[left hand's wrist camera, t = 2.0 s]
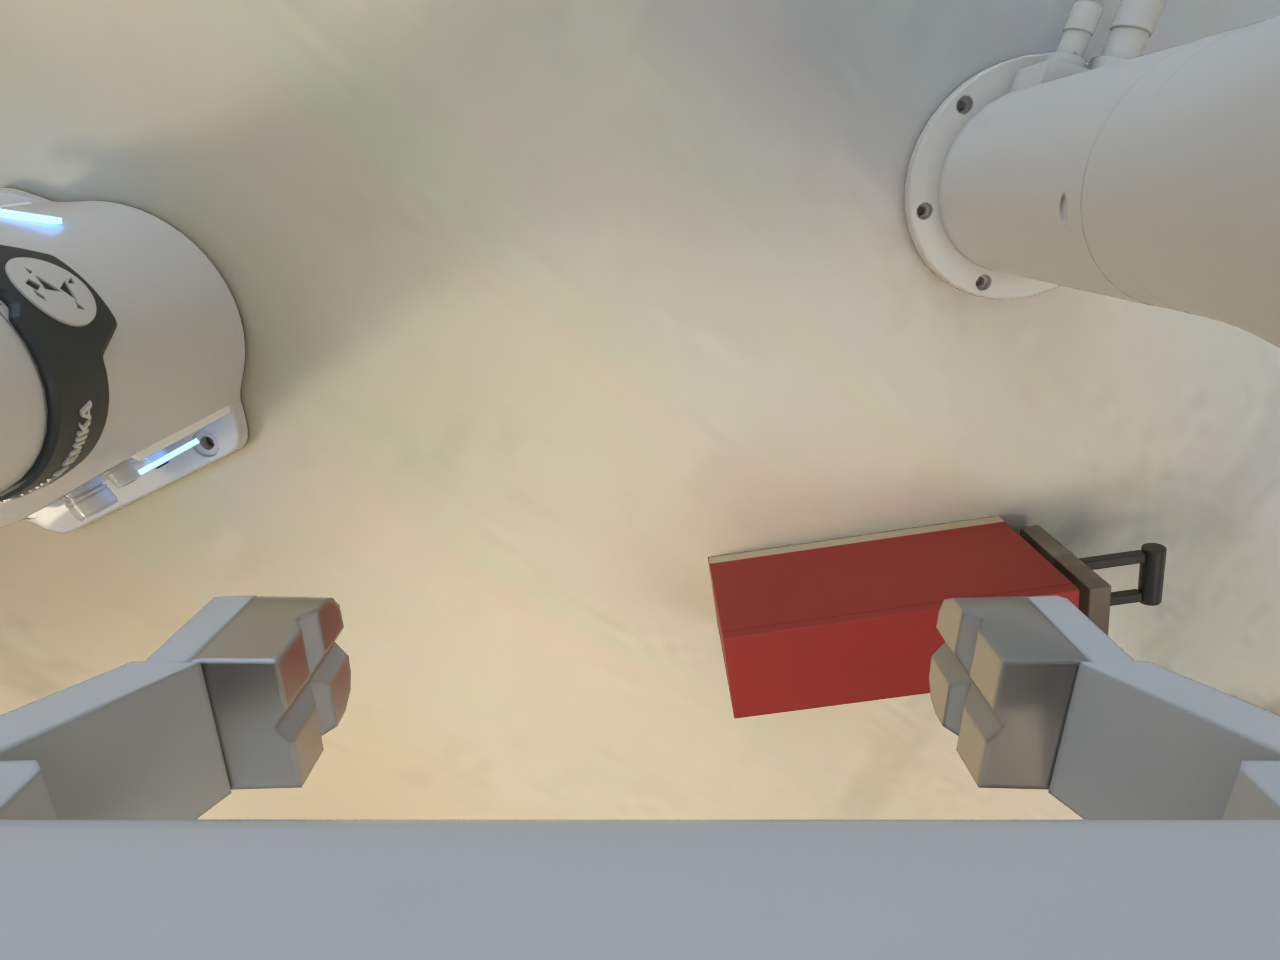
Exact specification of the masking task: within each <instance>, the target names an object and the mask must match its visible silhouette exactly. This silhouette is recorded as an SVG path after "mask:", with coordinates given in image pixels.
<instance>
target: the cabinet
mask: <svg viewBox="0 0 1280 960" xmlns="http://www.w3.org/2000/svg"><path fill="white" fill-rule="evenodd" d="M708 561H709V568H710V575H711V582H712V588H713V595H714V602H715V609H716V616H717V623H718V629H719V634H720V640H721V645H722V651H723V657H724V662H725V668H726V674H727V679H728V685H729V690H730V696H731V702H732V707H733V713H734V717H735V718H741V717H749V716H757V715H764V714H772V713H780V712H787V711H795V710H802V709H810V708H818V707H825V706H833V705H841V704H848V703H856V702H863V701H871V700H879V699H886V698H894V697H902V696H909V695H917V694H925V693H930V683H929V674H930V665H931V657H932V655H933V654H934V653H935V652H936V651H937V650H938V649H939V648H940V647H941V646H942V645H943V644H944V643H945V640H944V638H943V637H942V635H941V634H940V632H939V631H938V629H937V628H936V626H937V620H938V614H939V610H940V608H941V606H942V603H943V601H944V600H945V599H951V598H980V597H1021V596H1026V597H1034V596H1060V597H1064V598H1067V599H1068V600H1069V601H1070V602H1071V603H1072V604H1074V605H1075V606H1076V607H1077V608H1078V609H1079V589H1078V588H1077V587H1076V586H1075V585H1074V584H1073V583H1072V582H1071V581H1069V580H1068V579H1067V578H1066V577H1065V576H1064V575H1063V574H1062V573H1061V572H1060V571H1058V570H1057V569H1056V568H1055V567H1054V566H1053V565H1052V564H1051V563H1050V562H1048V561H1047V560H1046V559H1045V558H1044V557H1043V556H1042V555H1041V554H1040V553H1039V552H1037V551H1036V550H1035V549H1034V548H1033V547H1032V546H1031V545H1030V544H1029V543H1027V542H1026V541H1025V540H1024V539H1023V538H1022V537H1021V536H1020V535H1019V534H1018V533H1016V532H1015V531H1014V530H1013V529H1012V528H1011V527H1010V526H1009V525H1008V524H1006V523H1005V521H1004V520H1003V519H1002V518H1001V517H999V516H994V517H987V518H980V519H973V520H966V521H959V522H952V523H945V524H938V525H931V526H924V527H917V528H910V529H903V530H896V531H890V532H883V533H876V534H869V535H862V536H855V537H848V538H841V539H834V540H827V541H820V542H813V543H806V544H799V545H792V546H785V547H778V548H771V549H765V550H758V551H751V552H744V553H737V554H730V555H723V556H716V557H709V558H708Z"/></svg>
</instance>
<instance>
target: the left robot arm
mask: <svg viewBox="0 0 1280 960" xmlns="http://www.w3.org/2000/svg"><path fill="white" fill-rule="evenodd" d="M244 365H245V338H244V331H243V326H242V321H241V318H240V314H239V311H238V308H237V306H236V303H235V301H234V298H233V296H232V294H231V292H230V290H229V288H228V286H227V285H226V283H225V281H224V279H223V278H222V276H221V275H220V273H219V272H218V270H217V269H216V268H215V266H214V265H213V264H212V262H211V261H210V260H209V259H208V258H207V256H206V255H205V254H204V253H203V252H202V251H201V250H200V249H199V248H198V247H197V246H196V245H195V244H194V243H193V242H192V241H191V240H189V239H188V238H187V237H186V236H185V235H183V234H182V233H181V232H179V231H178V230H177V229H175V228H174V227H172V226H171V225H169V224H168V223H166V222H164V221H163V220H161V219H159V218H157V217H155V216H153V215H151V214H149V213H147V212H144V211H142V210H139V209H136V208H133V207H130V206H127V205H123V204H118V203H113V202H106V201H75V202H56V201H50V200H47V199H45V198H42V197H39V196H37V195H34V194H31V193H28V192H25V191H22V190H18V189H13V188H0V526H10V525H12V524H14V523H16V522H18V521H20V520H22V519H24V520H26V521H28V522H30V523H32V524H35V525H37V526H39V527H42V528H45V529H48V530H51V531H54V532H58V533H69V532H72V531H74V530H76V529H79V528H81V527H84V526H86V525H88V524H90V523H92V522H94V521H96V520H98V519H100V518H102V517H104V516H106V515H108V514H110V513H112V512H114V511H116V510H118V509H120V508H122V507H124V506H126V505H128V504H130V503H132V502H134V501H136V500H138V499H140V498H142V497H144V496H146V495H148V494H150V493H152V492H154V491H157V490H159V489H161V488H163V487H165V486H167V485H169V484H171V483H173V482H175V481H177V480H179V479H181V478H183V477H185V476H187V475H189V474H191V473H193V472H195V471H197V470H199V469H201V468H203V467H205V466H207V465H209V464H211V463H213V462H215V461H217V460H219V459H221V458H223V457H225V456H227V455H229V454H231V453H233V452H235V451H237V450H239V449H241V448H242V447H243V446H244V445H245V444H246V442H247V439H248V427H247V422H246V417H245V414H244V410H243V406H242V402H241V399H240V391H241V383H242V377H243V371H244ZM206 437H209V438H211V439H212V440H213V442H214V446H211V445H210V444H209V443H208V442H207V440H206ZM343 628H344V626H343V621H342V616H341V611H340V606H339V604H338V603H337V602H336V601H335V600H334V599H333V598H316V597H262V596H261V597H257V596H224V597H216V598H213V599H212V600H211V601H210V602H209V603H208V604H207V605H206V606H204V607H203V608H202V609H201V610H200V611H199V612H198V613H197V614H196V615H195V616H194V617H193V618H191V619H190V620H189V621H188V622H187V623H186V624H185V625H184V626H183V627H182V628H181V629H179V630H178V631H177V632H176V633H175V634H174V635H173V636H172V637H171V638H170V639H169V640H168V641H166V642H165V643H164V644H163V645H162V646H161V647H160V648H159V649H158V650H157V651H156V652H154V653H153V654H152V655H151V656H150V657H149V658H148V659H147V660H146V661H145V662H130V663H128V664H125V665H123V666H120V667H118V668H115V669H113V670H111V671H108V672H106V673H103V674H101V675H98V676H96V677H93V678H91V679H89V680H86V681H84V682H81V683H79V684H76V685H74V686H71V687H69V688H67V689H64V690H62V691H59V692H57V693H54V694H52V695H49V696H47V697H45V698H42V699H40V700H37V701H35V702H32V703H30V704H27V705H25V706H23V707H20V708H18V709H15V710H13V711H10V712H8V713H5V714H3V715H1V716H0V960H1280V716H1279V715H1277V714H1274V713H1272V712H1269V711H1267V710H1265V709H1262V708H1260V707H1257V706H1255V705H1252V704H1250V703H1247V702H1245V701H1243V700H1240V699H1238V698H1235V697H1233V696H1230V695H1228V694H1226V693H1223V692H1221V691H1218V690H1216V689H1213V688H1211V687H1208V686H1206V685H1204V684H1201V683H1199V682H1196V681H1194V680H1191V679H1189V678H1186V677H1184V676H1182V675H1179V674H1177V673H1174V672H1172V671H1169V670H1167V669H1165V668H1162V667H1160V666H1157V665H1155V664H1152V663H1150V662H1135V661H1134V660H1133V659H1132V658H1131V657H1130V656H1129V655H1128V654H1127V653H1126V652H1125V651H1123V650H1122V649H1121V648H1120V647H1119V646H1118V645H1117V644H1116V643H1115V642H1114V641H1113V640H1112V639H1110V638H1109V637H1108V636H1107V635H1106V634H1105V633H1104V632H1103V631H1102V630H1101V629H1100V628H1099V627H1097V626H1096V625H1095V624H1094V623H1093V622H1092V621H1091V620H1090V619H1089V618H1088V617H1087V616H1086V615H1084V614H1083V613H1082V612H1081V611H1080V610H1079V609H1078V608H1077V607H1076V606H1075V605H1074V604H1072V603H1071V602H1070V601H1069V600H1068V599H1067V598H1064V597H1060V596H1034V597H1026V596H1021V597H980V598H951V599H945V600H944V601H943V603H942V606H941V608H940V610H939V614H938V620H937V626H936V628H937V629H938V631H939V632H940V634H941V635H942V637H943V638H944V640H945V643H944V644H943V645H942V646H941V647H940V648H939V649H938V650H937V651H936V652H935V653H934V654H933V655H932V657H931V665H930V674H929V683H930V693H931V700H932V703H933V706H934V709H935V712H936V714H937V716H938V718H939V720H940V722H941V724H942V725H943V726H944V727H945V728H947V729H948V730H950V731H952V732H953V733H955V734H956V735H958V736H959V738H958V744H957V751H958V753H959V755H960V757H961V758H962V760H963V762H964V763H965V765H966V767H967V768H968V770H969V772H970V774H971V775H972V777H973V779H974V780H975V782H976V784H977V786H978V787H981V788H1018V789H1049V791H1048V792H1049V793H1050V794H1051V795H1052V796H1054V797H1055V798H1056V799H1058V800H1059V801H1060V802H1062V803H1063V804H1064V805H1066V806H1067V807H1068V808H1070V809H1071V810H1072V811H1074V812H1075V813H1076V814H1078V815H1079V816H1080V817H1082V818H1083V819H1084V820H196V819H197V818H198V817H200V816H201V815H202V814H204V813H205V812H206V811H208V810H209V809H210V808H212V807H213V806H214V805H216V804H217V803H218V802H220V801H221V800H222V799H224V798H225V797H226V796H228V795H229V794H230V793H231V789H261V788H296V787H302V786H303V784H304V782H305V781H306V779H307V777H308V775H309V774H310V772H311V770H312V769H313V767H314V765H315V763H316V762H317V760H318V758H319V757H320V755H321V753H322V751H323V744H322V738H321V736H322V735H324V734H325V733H327V732H328V731H330V730H332V729H333V728H335V727H336V726H337V725H338V723H339V722H340V720H341V718H342V716H343V714H344V712H345V710H346V706H347V702H348V698H349V694H350V684H351V671H350V664H349V657H348V655H347V654H346V653H345V652H344V651H343V650H342V649H341V648H340V647H339V646H338V645H337V644H336V643H335V640H336V639H337V637H338V635H339V634H340V632H341V631H342V629H343Z"/></svg>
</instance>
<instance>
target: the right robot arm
mask: <svg viewBox="0 0 1280 960" xmlns="http://www.w3.org/2000/svg"><path fill="white" fill-rule="evenodd" d="M1165 3H1166V0H1122V1H1121V3H1120V6H1119V8H1118V10H1117V13H1116V15H1115V17H1114V20H1113V22H1112V24H1111V27H1110V31H1111V32H1110V34H1109V36H1108V39H1107V41H1106V43H1105V46H1104V48H1103V50H1102V53H1101V55H1100V56H1097V57H1093V58H1091V60H1090V62H1089V63H1087V62H1086V59H1085V58H1083V57H1082V55H1083V53H1084V51H1085V48H1086V46H1087V43H1088V41H1089V39H1090V37H1091V36H1092V35H1093V33H1094V30H1095V28H1096V26H1097V23H1098V21H1099V18H1100V16H1101V14H1102V11H1103V9H1104V6H1103V5H1102V4H1100V3H1098V2H1095V1H1091V0H1079V1H1076V2H1075V3H1074V5H1073V8H1072V10H1071V13H1070V15H1069V18H1068V20H1067V23H1066V25H1065V27H1064V30H1063V32H1064V33H1063V36H1062V38H1061V41H1060V43H1059V46H1058V48H1057V51H1056V52H1052V53H1047V54H1035V55H1025V56H1021V57H1018V58H1014V59H1011V60H1007V61H1004V62H1001V63H999V64H997V65H994V66H992V67H990V68H987V69H985V70H983V71H982V72H980V73H978V74H977V75H975V76H974V77H972V78H970V79H969V80H967V81H966V82H964V83H963V84H962V85H961V86H959V87H958V88H957V89H956V90H955V91H954V92H953V93H952V94H951V95H949V96H948V97H947V98H946V99H945V100H944V101H943V103H942V104H941V105H940V106H939V108H938V109H937V110H936V111H935V113H934V114H933V115H932V116H931V118H930V119H929V121H928V122H927V124H926V126H925V128H924V130H923V131H922V133H921V135H920V137H919V138H918V140H917V143H916V145H915V148H914V151H913V154H912V156H911V159H910V162H909V166H908V171H907V177H906V182H905V214H906V219H907V225H908V230H909V233H910V235H911V238H912V240H913V243H914V245H915V248H916V250H917V251H918V253H919V254H920V256H921V257H922V259H923V260H924V262H925V263H926V265H927V266H928V267H929V268H930V269H931V270H932V271H933V272H934V273H935V274H936V275H937V276H938V277H939V278H940V279H942V280H943V281H945V282H947V283H948V284H950V285H952V286H953V287H955V288H957V289H958V290H961V291H964V292H967V293H969V294H972V295H976V296H981V297H985V298H990V299H1018V298H1024V297H1030V296H1035V295H1037V294H1040V293H1043V292H1046V291H1048V290H1051V289H1054V288H1056V287H1058V286H1059V285H1061V286H1066V287H1070V288H1075V289H1079V290H1084V291H1088V292H1093V293H1097V294H1102V295H1106V296H1111V297H1115V298H1120V299H1124V300H1129V301H1133V302H1138V303H1143V304H1147V305H1153V306H1159V307H1164V308H1169V309H1173V310H1178V311H1182V312H1186V313H1190V314H1195V315H1199V316H1203V317H1207V318H1210V319H1214V320H1218V321H1221V322H1224V323H1227V324H1230V325H1233V326H1236V327H1238V328H1241V329H1243V330H1245V331H1248V332H1250V333H1252V334H1254V335H1256V336H1258V337H1260V338H1262V339H1264V340H1266V341H1268V342H1270V343H1271V344H1273V345H1275V346H1277V347H1279V348H1280V16H1278V17H1275V18H1272V19H1268V20H1265V21H1261V22H1258V23H1254V24H1251V25H1247V26H1244V27H1240V28H1237V29H1233V30H1230V31H1226V32H1223V33H1219V34H1216V35H1212V36H1209V37H1205V38H1203V39H1200V40H1198V41H1194V42H1191V43H1187V44H1184V45H1180V46H1176V47H1173V48H1169V49H1165V50H1162V51H1158V52H1154V53H1151V54H1147V55H1143V56H1141V53H1142V51H1143V49H1144V47H1145V44H1146V42H1147V40H1148V37H1150V36H1151V34H1152V32H1153V30H1154V27H1155V25H1156V23H1157V21H1158V18H1159V16H1160V14H1161V12H1162V9H1163V7H1164V5H1165ZM959 101H960V102H961V103H962V105H963V106H962V109H961V111H960V112H959V111H958V110H957V108H956V107H957V102H959ZM920 206H922V207H923V209H924V210H923V213H922V214H921V215H920V216H919V215H918V214H917V209H918V207H920ZM979 277H980V278H981V282H980V284H978V285H976V280H977V279H978V278H979Z"/></svg>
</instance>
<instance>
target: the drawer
mask: <svg viewBox="0 0 1280 960" xmlns="http://www.w3.org/2000/svg"><path fill="white" fill-rule="evenodd" d="M1020 536H1021V537H1022V538H1023V539H1024V540H1025V541H1026V542H1027V543H1029V544H1030V545H1031V546H1032V547H1033V548H1034V549H1035V550H1036V551H1037V552H1039V553H1040V554H1041V555H1042V556H1043V557H1044V558H1045V559H1046V560H1047V561H1048V562H1050V563H1051V564H1052V565H1053V566H1054V567H1055V568H1056V569H1057V570H1058V571H1060V572H1061V573H1062V574H1063V575H1064V576H1065V577H1066V578H1067V579H1068V580H1069V581H1071V582H1072V583H1073V584H1074V585H1075V586H1076V587H1077V588H1078V589H1079V610H1080V611H1081V612H1082V613H1083V614H1084V615H1086V616H1087V617H1088V618H1089V619H1090V620H1091V621H1092V622H1093V623H1094V624H1095V625H1096V626H1097V627H1099V628H1100V629H1101V630H1102V631H1103V632H1104V633H1105V634H1106V635H1107V636H1108V625H1109V611H1110V606H1112V605H1119V604H1127V603H1134V602H1140V603H1142V604H1145V605H1151V606H1154V605H1159V604H1160V603H1161V600H1162V590H1163V580H1164V570H1165V560H1166V547H1165V546H1163V545H1160V544H1156V543H1146V544H1144V545H1142V547H1141V551H1140V550H1136V551H1129V552H1122V553H1115V554H1108V555H1101V556H1093V557H1086V558H1079V559H1078V558H1077V557H1076V556H1075V555H1073V554H1072V553H1071V552H1070V551H1069V550H1067V549H1066V548H1065V547H1064V546H1063V545H1061V544H1060V543H1059V542H1058V541H1057V540H1055V539H1054V538H1053V537H1052V536H1051V535H1049V534H1048V533H1047V532H1046V531H1045V530H1044V529H1042V528H1041V527H1040V526H1039V525H1035V526H1028V527H1021V528H1020ZM1137 563H1140V570H1139V581H1138V590H1137V589H1132V590H1125V591H1118V592H1111V586H1110V585H1109V584H1108V583H1107V582H1106V581H1104V580H1103V579H1102V578H1101V577H1100V576H1099V575H1097V574H1096V573H1095V572H1094V571H1093V570H1094V569H1101V568H1108V567H1115V566H1123V565H1130V564H1137Z"/></svg>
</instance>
